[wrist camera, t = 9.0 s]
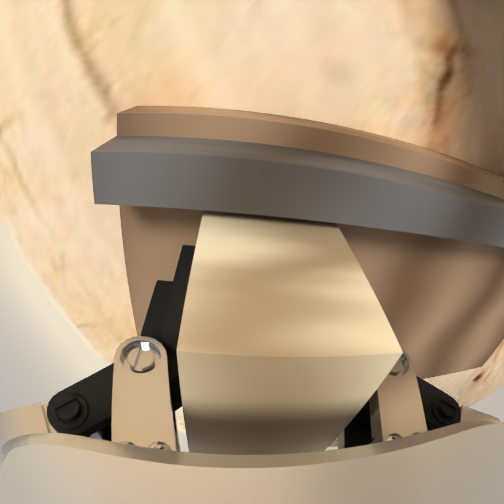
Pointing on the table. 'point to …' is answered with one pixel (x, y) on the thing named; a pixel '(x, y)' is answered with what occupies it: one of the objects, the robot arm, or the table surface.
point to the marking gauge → (277, 336)
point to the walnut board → (319, 214)
